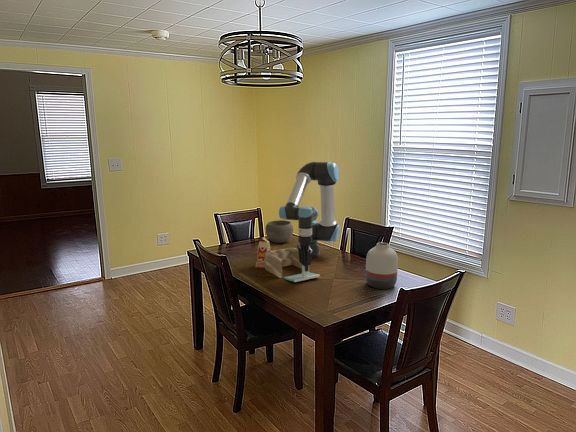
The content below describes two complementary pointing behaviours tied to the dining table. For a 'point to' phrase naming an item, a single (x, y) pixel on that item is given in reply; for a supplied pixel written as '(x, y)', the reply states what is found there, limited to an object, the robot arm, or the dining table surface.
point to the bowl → (279, 231)
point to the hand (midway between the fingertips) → (304, 276)
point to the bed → (281, 260)
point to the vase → (381, 266)
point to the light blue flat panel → (301, 277)
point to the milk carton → (262, 252)
